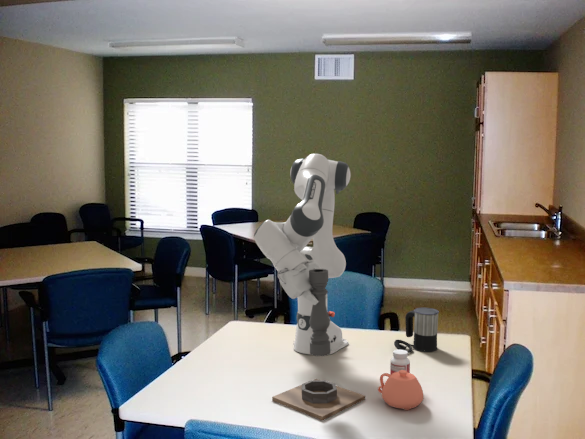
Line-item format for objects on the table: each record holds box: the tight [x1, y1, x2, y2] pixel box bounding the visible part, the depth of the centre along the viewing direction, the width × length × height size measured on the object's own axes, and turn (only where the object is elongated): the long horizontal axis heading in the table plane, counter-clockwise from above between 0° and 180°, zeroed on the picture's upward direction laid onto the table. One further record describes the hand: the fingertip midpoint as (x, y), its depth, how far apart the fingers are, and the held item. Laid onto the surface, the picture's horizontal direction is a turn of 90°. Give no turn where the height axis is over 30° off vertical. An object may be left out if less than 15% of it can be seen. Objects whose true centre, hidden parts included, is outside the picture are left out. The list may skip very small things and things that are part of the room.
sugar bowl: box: [377, 370, 424, 411], centre depth 185 cm, size 12×14×10 cm
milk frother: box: [393, 307, 440, 354], centre depth 233 cm, size 14×16×15 cm
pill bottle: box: [389, 349, 411, 375], centre depth 200 cm, size 6×6×11 cm
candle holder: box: [309, 269, 331, 357], centre depth 185 cm, size 6×6×25 cm
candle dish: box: [271, 378, 366, 421], centre depth 188 cm, size 20×20×4 cm
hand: (321, 301), depth 184 cm, fingers closed on candle holder, 4 cm apart
